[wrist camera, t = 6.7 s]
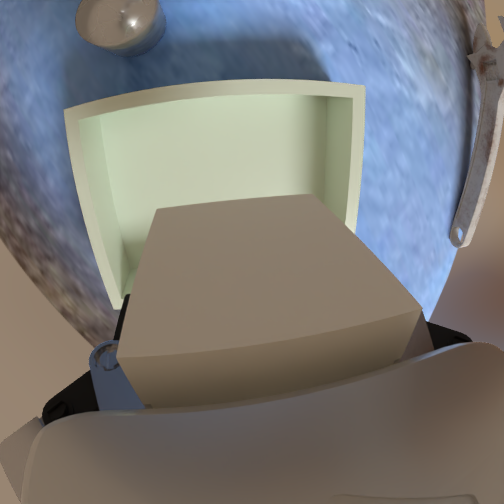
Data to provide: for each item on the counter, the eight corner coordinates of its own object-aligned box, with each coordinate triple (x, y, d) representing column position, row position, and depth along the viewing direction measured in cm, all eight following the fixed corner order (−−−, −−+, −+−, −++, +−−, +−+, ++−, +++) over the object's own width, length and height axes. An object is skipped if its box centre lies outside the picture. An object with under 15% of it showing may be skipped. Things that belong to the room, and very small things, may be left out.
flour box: (156, 208, 10) (116, 357, 4) (312, 193, 11) (422, 307, 5) (182, 326, 13) (186, 465, 7) (304, 310, 14) (358, 432, 8)
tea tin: (103, 9, 14) (77, -12, 9) (166, -4, 15) (156, -33, 10) (103, 63, 17) (75, 54, 12) (167, 50, 18) (156, 34, 12)
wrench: (435, 228, 34) (464, 11, 16) (443, 227, 35) (473, 16, 16) (470, 264, 28) (517, 18, 10) (478, 262, 28) (525, 24, 10)
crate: (90, 105, 18) (63, 109, 14) (333, 85, 21) (365, 85, 16) (125, 274, 26) (113, 309, 22) (325, 250, 29) (347, 280, 24)
